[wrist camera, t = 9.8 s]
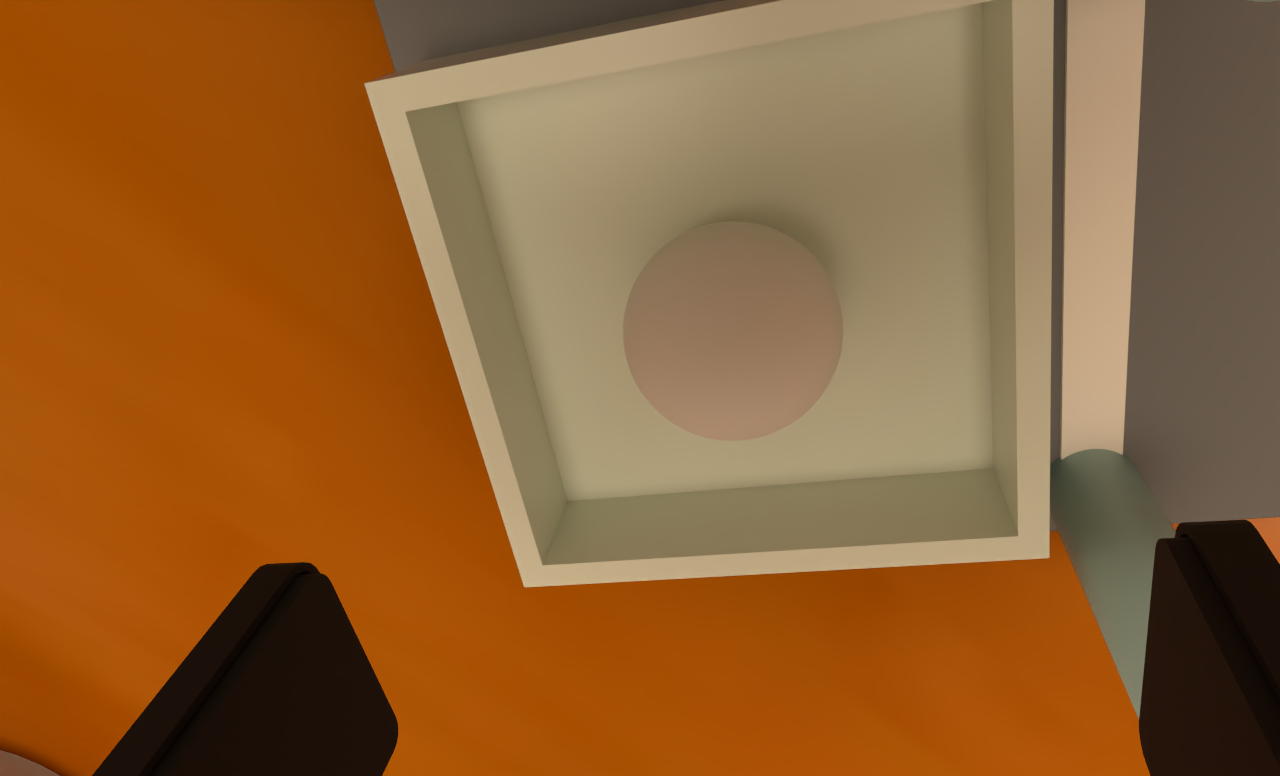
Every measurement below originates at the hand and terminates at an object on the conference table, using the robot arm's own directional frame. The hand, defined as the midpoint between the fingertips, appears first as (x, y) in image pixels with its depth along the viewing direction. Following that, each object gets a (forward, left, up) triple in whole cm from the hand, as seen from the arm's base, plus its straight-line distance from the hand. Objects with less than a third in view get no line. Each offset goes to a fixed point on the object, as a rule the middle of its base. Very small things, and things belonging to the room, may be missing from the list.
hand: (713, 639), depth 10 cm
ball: (+1, -1, -14) cm, 14 cm away
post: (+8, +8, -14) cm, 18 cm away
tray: (+1, -1, -14) cm, 14 cm away
